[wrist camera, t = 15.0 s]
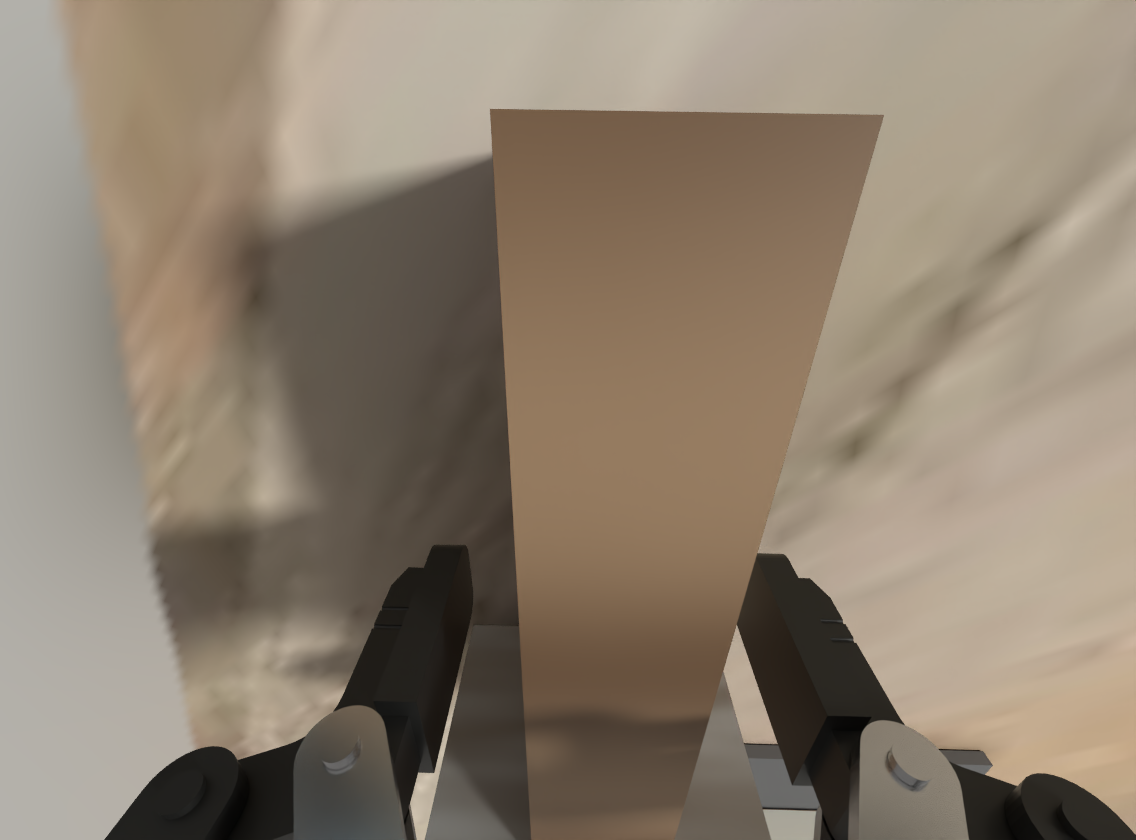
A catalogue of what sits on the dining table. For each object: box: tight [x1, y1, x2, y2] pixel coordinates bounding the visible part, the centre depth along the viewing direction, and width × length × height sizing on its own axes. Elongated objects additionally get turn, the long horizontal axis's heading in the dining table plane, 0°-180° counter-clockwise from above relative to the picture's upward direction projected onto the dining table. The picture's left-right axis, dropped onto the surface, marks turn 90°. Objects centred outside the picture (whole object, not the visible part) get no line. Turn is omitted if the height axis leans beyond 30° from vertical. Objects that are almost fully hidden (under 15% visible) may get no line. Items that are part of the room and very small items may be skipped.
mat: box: [744, 744, 993, 811], centre depth 22 cm, size 14×12×1 cm
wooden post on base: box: [425, 109, 884, 840], centre depth 10 cm, size 15×8×6 cm, turn 179°
